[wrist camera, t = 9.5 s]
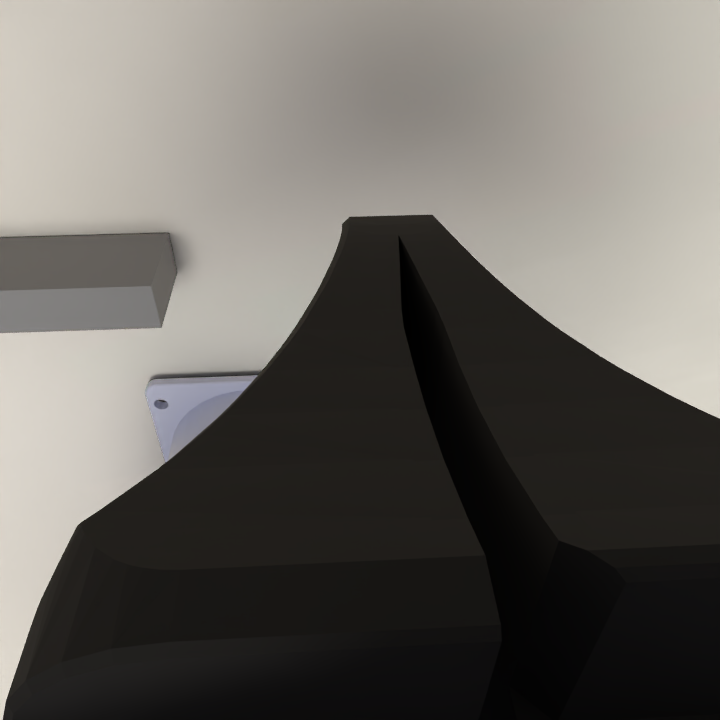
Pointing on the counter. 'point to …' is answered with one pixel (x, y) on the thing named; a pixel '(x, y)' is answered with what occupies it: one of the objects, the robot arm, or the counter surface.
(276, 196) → the counter surface
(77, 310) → the green and grey bars
